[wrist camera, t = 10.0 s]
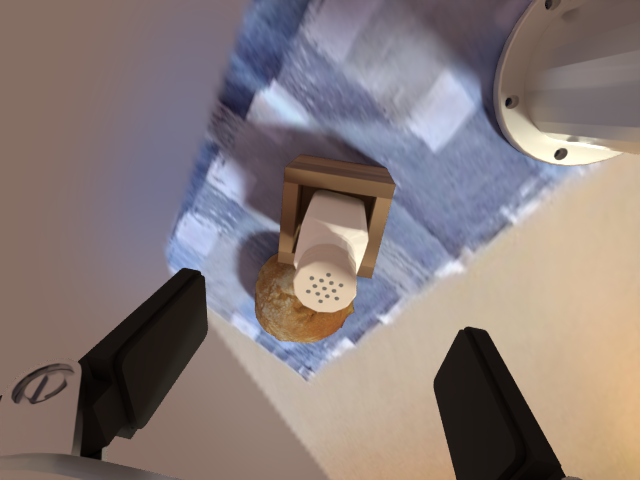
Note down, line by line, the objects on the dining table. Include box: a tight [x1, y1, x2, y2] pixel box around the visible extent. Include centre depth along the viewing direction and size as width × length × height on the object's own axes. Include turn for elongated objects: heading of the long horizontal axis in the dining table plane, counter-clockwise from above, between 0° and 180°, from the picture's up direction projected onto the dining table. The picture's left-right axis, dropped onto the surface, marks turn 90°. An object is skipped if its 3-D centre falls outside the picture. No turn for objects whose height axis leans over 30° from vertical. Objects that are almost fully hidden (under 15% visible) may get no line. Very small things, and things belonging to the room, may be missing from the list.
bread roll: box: [255, 253, 357, 343], centre depth 27 cm, size 10×10×8 cm
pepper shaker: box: [293, 190, 368, 312], centre depth 18 cm, size 4×4×10 cm
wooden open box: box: [278, 155, 396, 278], centre depth 22 cm, size 7×7×6 cm
